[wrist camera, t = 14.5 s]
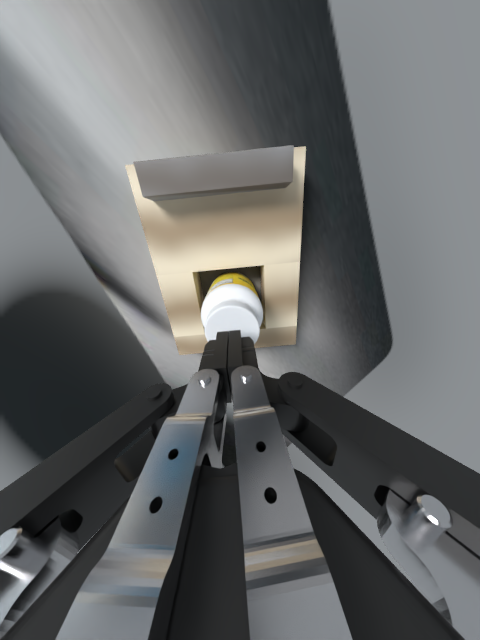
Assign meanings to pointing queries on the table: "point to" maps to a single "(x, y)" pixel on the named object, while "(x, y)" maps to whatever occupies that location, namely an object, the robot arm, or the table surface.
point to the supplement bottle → (232, 307)
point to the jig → (224, 232)
